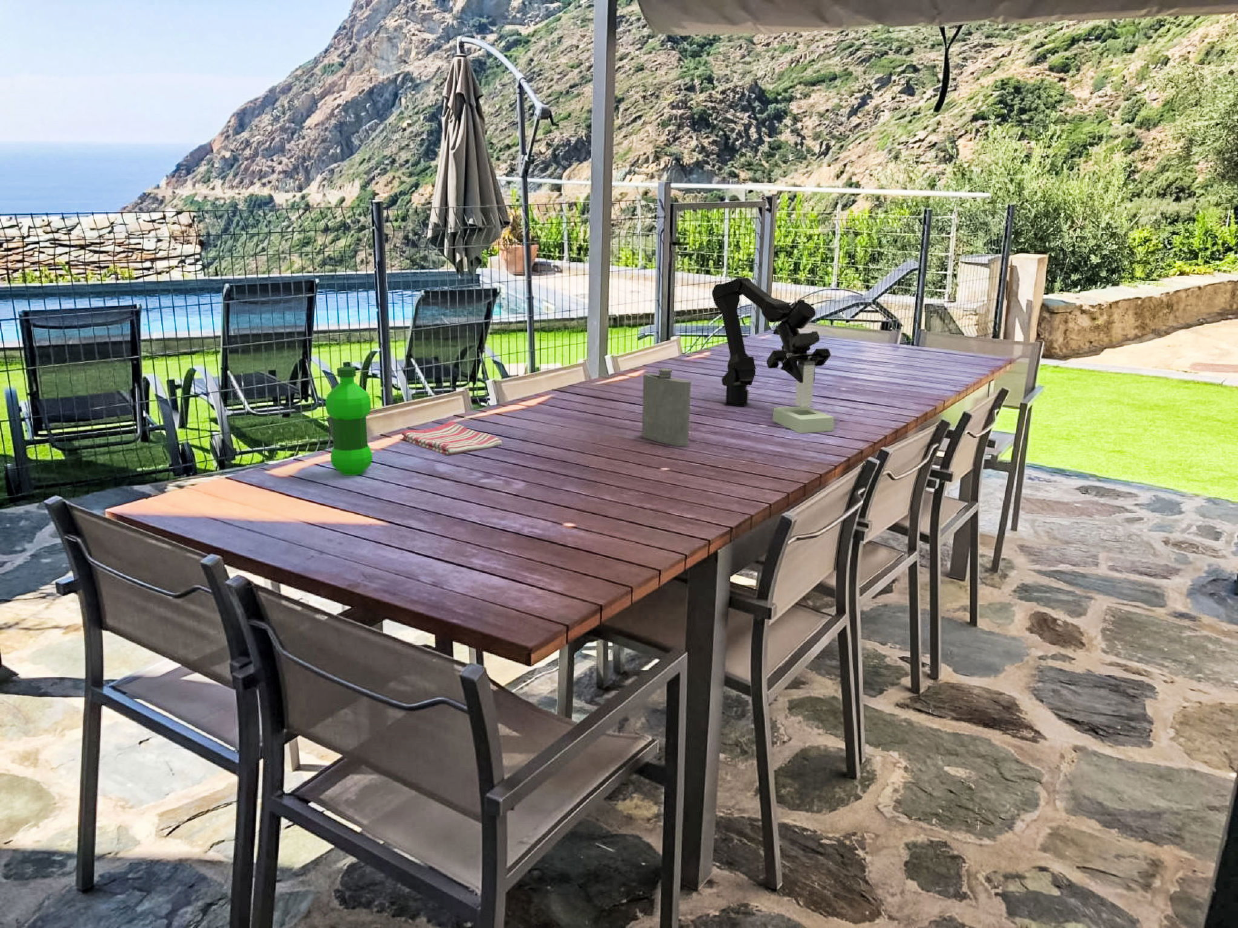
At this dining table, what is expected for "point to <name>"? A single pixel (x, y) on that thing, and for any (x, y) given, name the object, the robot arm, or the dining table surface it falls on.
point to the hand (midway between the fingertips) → (807, 382)
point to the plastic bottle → (349, 424)
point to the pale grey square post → (805, 383)
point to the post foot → (803, 419)
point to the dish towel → (451, 439)
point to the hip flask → (666, 408)
